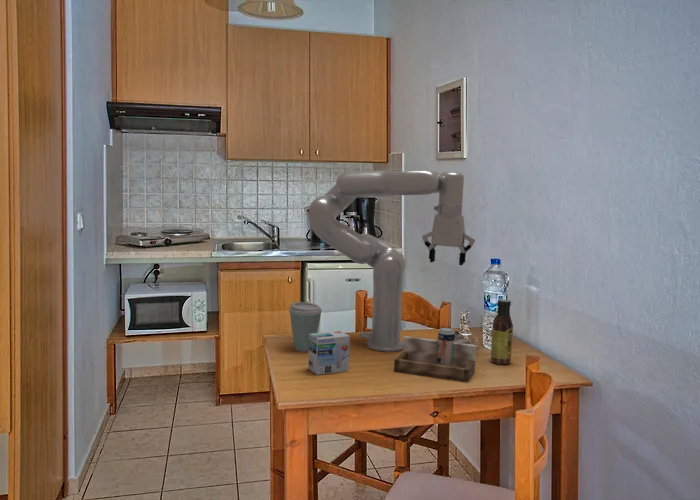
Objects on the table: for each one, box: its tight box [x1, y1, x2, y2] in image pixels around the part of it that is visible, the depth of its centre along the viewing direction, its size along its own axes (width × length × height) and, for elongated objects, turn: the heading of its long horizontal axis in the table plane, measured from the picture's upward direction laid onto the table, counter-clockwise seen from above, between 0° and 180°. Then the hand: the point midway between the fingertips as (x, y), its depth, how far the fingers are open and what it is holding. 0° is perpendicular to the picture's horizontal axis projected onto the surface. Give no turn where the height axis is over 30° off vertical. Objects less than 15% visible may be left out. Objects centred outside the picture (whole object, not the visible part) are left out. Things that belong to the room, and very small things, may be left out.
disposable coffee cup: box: [288, 301, 323, 353], centre depth 206 cm, size 11×11×15 cm
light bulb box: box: [307, 330, 351, 376], centre depth 186 cm, size 11×7×11 cm, turn 117°
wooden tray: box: [393, 335, 477, 382], centre depth 189 cm, size 22×11×8 cm, turn 70°
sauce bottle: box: [490, 298, 514, 365], centre depth 199 cm, size 6×6×20 cm
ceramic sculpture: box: [454, 330, 473, 345], centre depth 205 cm, size 11×9×15 cm
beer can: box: [437, 327, 456, 366], centre depth 188 cm, size 5×5×12 cm
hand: (446, 263), depth 206 cm, fingers open, 9 cm apart
